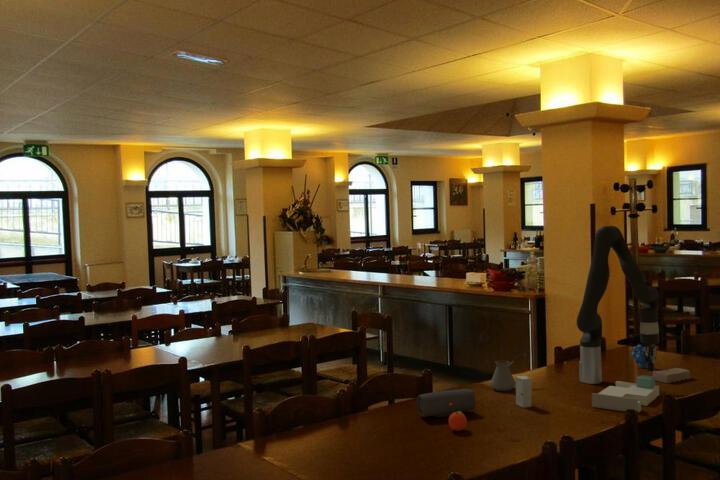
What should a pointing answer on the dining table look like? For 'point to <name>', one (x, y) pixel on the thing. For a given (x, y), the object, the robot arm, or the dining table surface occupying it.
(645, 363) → the grapes
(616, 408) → the tray
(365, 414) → the dining table surface
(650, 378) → the block
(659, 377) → the brick
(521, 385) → the skincare box
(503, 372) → the coffee pot
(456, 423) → the clementine
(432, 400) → the bluetooth speaker
